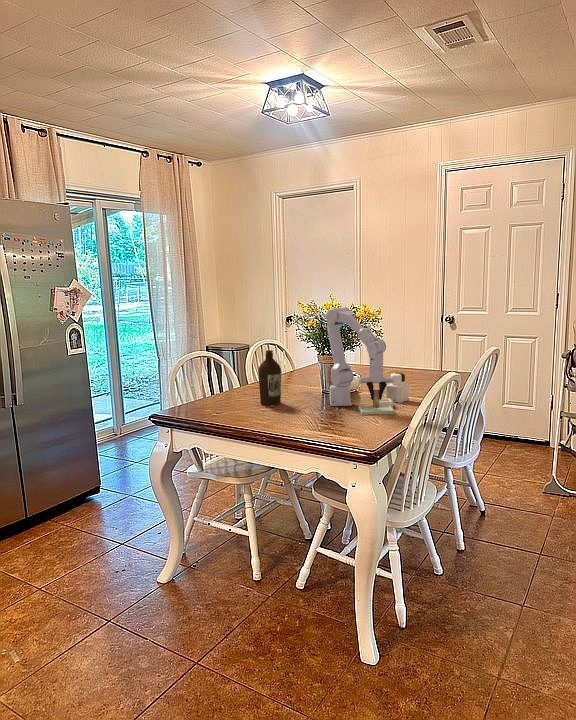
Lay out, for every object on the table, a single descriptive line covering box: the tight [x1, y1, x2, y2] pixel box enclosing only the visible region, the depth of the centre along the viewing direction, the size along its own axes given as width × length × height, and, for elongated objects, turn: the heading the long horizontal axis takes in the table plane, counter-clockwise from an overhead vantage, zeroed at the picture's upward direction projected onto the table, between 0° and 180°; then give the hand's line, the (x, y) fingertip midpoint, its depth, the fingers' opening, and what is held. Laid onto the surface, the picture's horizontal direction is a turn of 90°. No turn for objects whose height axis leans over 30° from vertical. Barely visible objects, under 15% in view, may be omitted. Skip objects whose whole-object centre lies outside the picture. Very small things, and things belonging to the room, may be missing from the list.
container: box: [385, 372, 410, 404], centre depth 250 cm, size 8×8×13 cm
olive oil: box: [257, 349, 282, 406], centre depth 248 cm, size 11×11×25 cm
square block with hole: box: [380, 398, 394, 409], centre depth 240 cm, size 7×7×3 cm
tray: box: [357, 405, 396, 416], centre depth 232 cm, size 14×10×1 cm
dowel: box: [372, 388, 380, 408], centre depth 231 cm, size 3×3×8 cm
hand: (376, 399), depth 231 cm, fingers closed on dowel, 3 cm apart
